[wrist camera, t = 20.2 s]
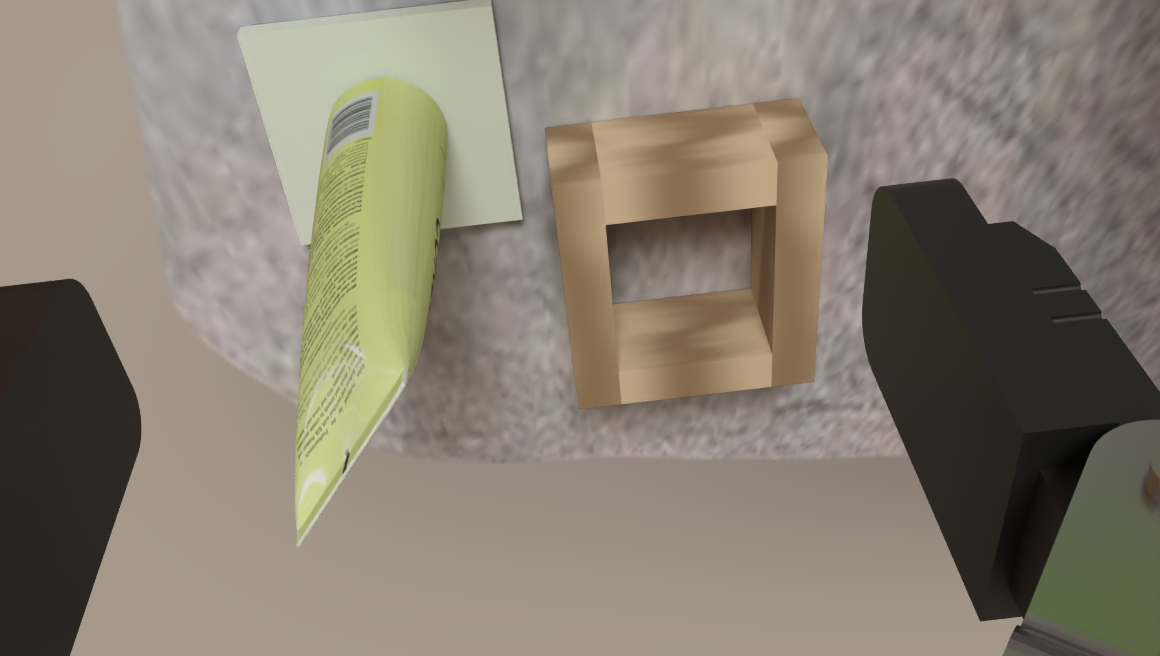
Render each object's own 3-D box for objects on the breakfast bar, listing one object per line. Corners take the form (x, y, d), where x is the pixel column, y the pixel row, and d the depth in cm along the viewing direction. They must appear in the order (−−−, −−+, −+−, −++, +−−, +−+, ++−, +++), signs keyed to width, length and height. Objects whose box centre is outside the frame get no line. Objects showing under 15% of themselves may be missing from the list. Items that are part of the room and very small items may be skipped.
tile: (491, -3, 43) (491, 5, 43) (522, 209, 50) (522, 219, 49) (240, 26, 43) (237, 35, 43) (303, 235, 50) (300, 245, 49)
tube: (465, 179, 48) (460, 522, 32) (352, 202, 48) (294, 553, 33) (430, 61, 44) (407, 383, 29) (308, 85, 44) (221, 418, 29)
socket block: (798, 98, 47) (828, 156, 43) (790, 315, 55) (814, 381, 51) (545, 127, 47) (551, 188, 43) (571, 341, 55) (578, 409, 51)
